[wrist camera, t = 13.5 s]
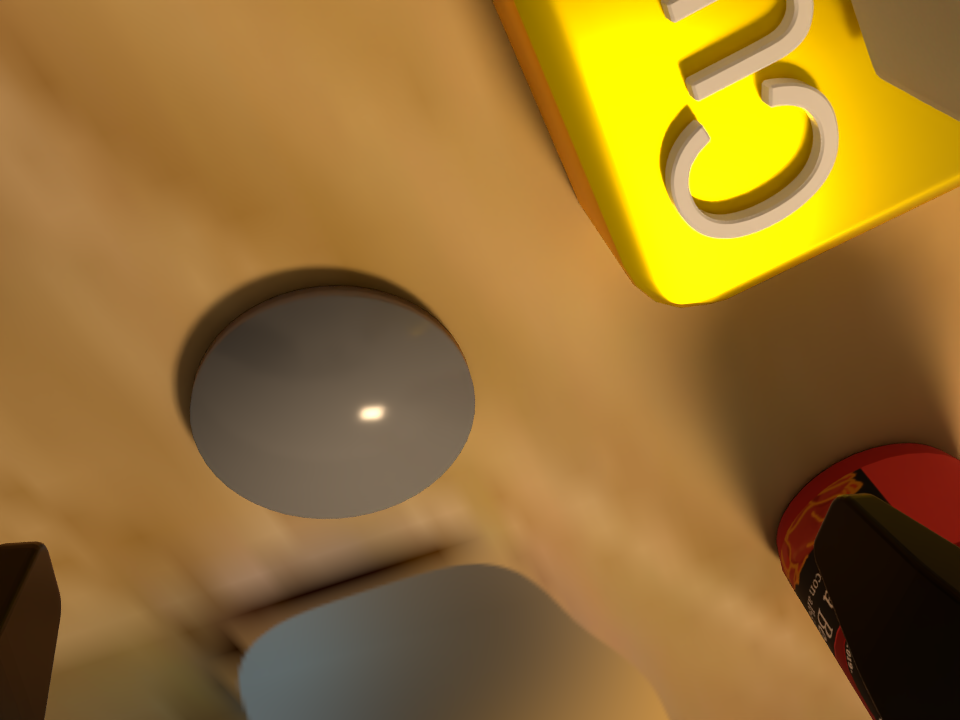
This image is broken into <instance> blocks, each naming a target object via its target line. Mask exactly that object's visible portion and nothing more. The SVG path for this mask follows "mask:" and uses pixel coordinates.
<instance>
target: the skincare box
mask: <svg viewBox="0 0 960 720" xmlns="http://www.w3.org/2000/svg"><path fill="white" fill-rule="evenodd" d="M851 2H852V5H853V8H854V11H855V14H856V17H857V20H858V23H859V26H860V29H861V32H862V35H863V39H864V42H865V45H866V48H867V51H868V53H869V56H870V59H871V62H872V65H873V68H874V70H875V72H876V74H877V75H878V76H879V78H881V79H882V80H884V81H886V82H888V83H890V84H892V85H893V86H895V87H897V88H899V89H901V90H903V91H905V92H906V93H908V94H910V95H911V96H913V97H915V98H917V99H918V100H920V101H922V102H924V103H926V104H928V105H930V106H932V107H933V108H935V109H937V110H939V111H941V112H943V113H945V114H947V115H948V116H950V117H952V118H954V119H956V120H957V121H959V122H960V0H851Z"/></svg>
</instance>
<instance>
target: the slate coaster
mask: <svg viewBox="0 0 960 720" xmlns="http://www.w3.org/2000/svg"><path fill="white" fill-rule="evenodd" d="M474 414H475V395H474V387H473V383H472V379H471V376H470V372H469V369H468V366H467V362H466V359H465V357H464V355H463V353H462V351H461V349H460V347H459V345H458V344H457V342H456V341H455V339H454V338H453V337H452V335H451V334H450V333H449V332H448V331H447V329H446V328H445V327H444V326H443V325H442V324H441V323H440V322H439V321H438V320H436V319H435V318H434V317H433V316H431V315H430V314H429V313H427V312H426V311H425V310H423V309H421V308H420V307H418V306H416V305H414V304H413V303H411V302H409V301H406V300H404V299H402V298H400V297H397V296H395V295H392V294H388V293H385V292H382V291H378V290H374V289H368V288H362V287H356V286H338V285H336V286H319V287H312V288H306V289H300V290H296V291H292V292H289V293H285V294H282V295H279V296H276V297H274V298H271V299H269V300H267V301H264V302H262V303H260V304H258V305H256V306H255V307H253V308H251V309H249V310H248V311H246V312H244V313H243V314H241V315H240V316H239V317H238V318H236V319H235V320H234V321H232V322H231V323H230V324H229V325H228V326H227V327H226V328H225V329H224V330H223V331H222V332H221V333H220V334H219V335H218V336H217V337H216V338H215V340H214V341H213V342H212V344H211V345H210V346H209V348H208V349H207V351H206V352H205V354H204V356H203V358H202V360H201V362H200V364H199V367H198V370H197V373H196V376H195V379H194V384H193V390H192V397H191V404H190V424H191V428H192V433H193V438H194V440H195V443H196V445H197V448H198V450H199V452H200V454H201V456H202V457H203V459H204V461H205V463H206V464H207V466H208V467H209V468H210V469H211V470H212V472H213V473H214V474H215V475H216V476H217V477H218V478H219V479H220V480H221V481H222V482H223V483H224V484H225V485H226V486H227V487H229V488H230V489H232V490H233V491H234V492H236V493H237V494H239V495H240V496H242V497H244V498H245V499H247V500H249V501H251V502H253V503H255V504H257V505H260V506H262V507H264V508H267V509H269V510H273V511H276V512H280V513H283V514H287V515H292V516H298V517H304V518H316V519H338V518H348V517H356V516H361V515H366V514H371V513H374V512H377V511H381V510H384V509H387V508H390V507H392V506H394V505H397V504H399V503H402V502H404V501H406V500H407V499H409V498H411V497H413V496H415V495H417V494H418V493H420V492H421V491H423V490H424V489H426V488H427V487H429V486H430V485H431V484H432V483H434V482H435V481H436V480H437V479H438V478H440V477H441V476H442V475H443V474H444V473H445V471H446V470H447V469H448V468H449V467H450V466H451V465H452V464H453V462H454V461H455V460H456V458H457V457H458V455H459V454H460V452H461V451H462V449H463V447H464V445H465V443H466V441H467V439H468V436H469V433H470V431H471V428H472V424H473V419H474Z"/></svg>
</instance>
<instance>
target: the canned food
mask: <svg viewBox="0 0 960 720" xmlns="http://www.w3.org/2000/svg"><path fill="white" fill-rule="evenodd" d="M859 493H867V494H872V495H874V496H876V497H878V498H879V499H881V500H883V501H884V502H886V503H888V504H889V505H891V506H892V507H894V508H896V509H897V510H899V511H901V512H902V513H904V514H906V515H907V516H909V517H911V518H912V519H914V520H915V521H917V522H919V523H920V524H922V525H924V526H925V527H927V528H929V529H930V530H932V531H933V532H935V533H937V534H938V535H940V536H942V537H943V538H945V539H947V540H948V541H950V542H951V543H953V544H955V545H956V546H958V547H960V460H958V459H956V458H955V457H953V456H951V455H949V454H947V453H945V452H943V451H941V450H939V449H937V448H934V447H931V446H928V445H922V444H914V443H903V444H891V445H886V446H881V447H876V448H872V449H869V450H866V451H863V452H860V453H857V454H854V455H852V456H850V457H848V458H846V459H844V460H842V461H840V462H838V463H836V464H834V465H832V466H831V467H829V468H828V469H826V470H825V471H823V472H822V473H820V474H819V475H817V476H816V477H815V478H814V479H813V480H812V481H810V482H809V483H808V484H807V485H806V486H805V487H804V488H803V489H802V490H801V491H800V492H799V493H798V494H797V496H796V497H795V498H794V499H793V500H792V501H791V503H790V505H789V506H788V508H787V509H786V511H785V513H784V514H783V516H782V519H781V521H780V524H779V527H778V531H777V540H776V542H777V547H778V552H779V557H780V561H781V566H782V570H783V572H784V574H785V576H786V577H787V579H788V581H789V583H790V584H791V586H792V587H793V589H794V591H795V592H796V594H797V596H798V597H799V599H800V601H801V602H802V604H803V606H804V607H805V609H806V610H807V612H808V614H809V615H810V617H811V619H812V620H813V622H814V624H815V625H816V627H817V629H818V630H819V632H820V634H821V635H822V637H823V638H824V640H825V642H826V643H827V645H828V647H829V648H830V650H831V652H832V653H833V655H834V657H835V658H836V660H837V661H838V663H839V665H840V666H841V668H842V670H843V671H844V673H845V675H846V676H847V678H848V680H849V681H850V683H851V685H852V686H853V688H854V689H855V691H856V693H857V694H858V696H859V698H860V699H861V701H862V703H863V704H864V706H865V708H866V709H867V711H868V712H869V714H870V716H871V717H872V719H873V720H882V719H881V717H880V715H879V713H878V711H877V709H876V707H875V705H874V703H873V701H872V699H871V697H870V695H869V693H868V691H867V689H866V687H865V685H864V683H863V681H862V678H861V676H860V674H859V672H858V670H857V667H856V665H855V662H854V660H853V658H852V655H851V653H850V650H849V647H848V645H847V642H846V640H845V637H844V634H843V632H842V629H841V627H840V624H839V621H838V619H837V616H836V614H835V611H834V608H833V606H832V603H831V601H830V598H829V595H828V593H827V590H826V587H825V585H824V582H823V580H822V577H821V574H820V572H819V569H818V567H817V564H816V561H815V557H814V547H813V546H814V540H815V538H816V535H817V533H818V531H819V529H820V527H821V525H822V522H823V520H824V518H825V516H826V514H827V512H828V509H829V507H830V505H831V503H832V501H833V500H834V499H835V498H836V497H838V496H839V495H842V494H859Z"/></svg>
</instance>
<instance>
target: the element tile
mask: <svg viewBox="0 0 960 720" xmlns="http://www.w3.org/2000/svg"><path fill="white" fill-rule="evenodd" d="M492 1H493V4H494V6H495V8H496V11H497V13H498V15H499V18H500V20H501V22H502V25H503V27H504V29H505V32H506V34H507V36H508V39H509V41H510V43H511V46H512V48H513V50H514V53H515V55H516V57H517V60H518V62H519V64H520V67H521V69H522V71H523V74H524V76H525V78H526V81H527V83H528V85H529V88H530V90H531V92H532V95H533V97H534V99H535V101H536V104H537V106H538V108H539V111H540V113H541V115H542V118H543V120H544V122H545V125H546V127H547V129H548V132H549V134H550V136H551V139H552V141H553V143H554V146H555V148H556V150H557V153H558V155H559V157H560V160H561V162H562V164H563V167H564V169H565V171H566V174H567V176H568V178H569V181H570V183H571V185H572V188H573V190H574V192H575V195H576V197H577V199H578V202H579V203H580V205H581V206H582V208H583V210H584V211H585V213H586V214H587V216H588V217H589V219H590V220H591V222H592V223H593V225H594V226H595V228H596V229H597V231H598V232H599V234H600V235H601V237H602V238H603V240H604V241H605V243H606V244H607V246H608V247H609V249H610V250H611V252H612V253H613V255H614V256H615V258H616V259H617V261H618V262H619V264H620V265H621V267H622V268H623V270H624V271H625V273H626V274H627V276H628V277H629V279H630V280H631V282H632V283H633V284H634V285H635V286H636V287H637V288H639V289H640V290H641V291H642V292H644V293H645V294H646V295H647V296H649V297H650V298H651V299H652V300H654V301H656V302H659V303H663V304H667V305H671V306H675V307H679V308H683V307H691V306H699V305H707V304H712V303H715V302H719V301H722V300H726V299H728V298H730V297H733V296H735V295H737V294H739V293H741V292H743V291H745V290H747V289H749V288H751V287H753V286H755V285H757V284H759V283H761V282H763V281H766V280H768V279H770V278H772V277H774V276H776V275H778V274H780V273H782V272H784V271H786V270H788V269H790V268H792V267H794V266H796V265H798V264H801V263H803V262H805V261H807V260H809V259H811V258H813V257H815V256H817V255H819V254H821V253H823V252H825V251H827V250H829V249H831V248H834V247H836V246H838V245H840V244H842V243H844V242H846V241H848V240H850V239H852V238H854V237H856V236H858V235H860V234H862V233H864V232H867V231H869V230H871V229H873V228H875V227H877V226H879V225H881V224H883V223H885V222H887V221H889V220H891V219H893V218H895V217H897V216H900V215H902V214H904V213H906V212H908V211H910V210H912V209H914V208H916V207H918V206H920V205H922V204H924V203H926V202H928V201H930V200H932V199H935V198H937V197H939V196H941V195H943V194H945V193H947V192H949V191H951V190H953V189H955V188H957V187H959V186H960V122H959V121H957V120H956V119H954V118H952V117H950V116H948V115H947V114H945V113H943V112H941V111H939V110H937V109H935V108H933V107H932V106H930V105H928V104H926V103H924V102H922V101H920V100H918V99H917V98H915V97H913V96H911V95H910V94H908V93H906V92H905V91H903V90H901V89H899V88H897V87H895V86H893V85H892V84H890V83H888V82H886V81H884V80H882V79H881V78H879V76H878V75H877V74H876V72H875V70H874V68H873V65H872V62H871V59H870V56H869V53H868V51H867V48H866V45H865V42H864V39H863V35H862V32H861V29H860V26H859V23H858V20H857V17H856V14H855V11H854V8H853V5H852V2H851V0H492Z"/></svg>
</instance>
